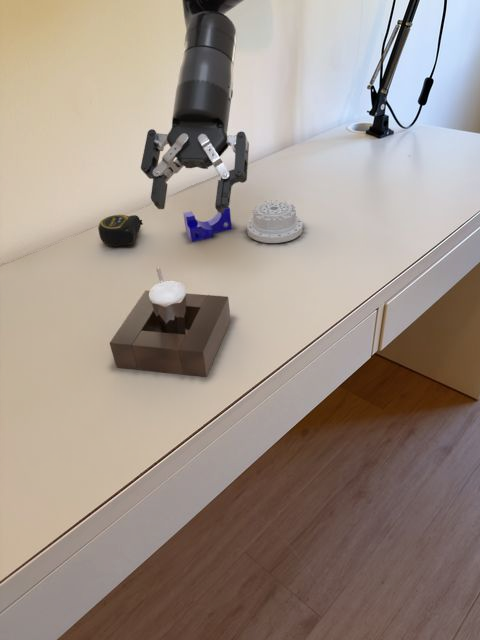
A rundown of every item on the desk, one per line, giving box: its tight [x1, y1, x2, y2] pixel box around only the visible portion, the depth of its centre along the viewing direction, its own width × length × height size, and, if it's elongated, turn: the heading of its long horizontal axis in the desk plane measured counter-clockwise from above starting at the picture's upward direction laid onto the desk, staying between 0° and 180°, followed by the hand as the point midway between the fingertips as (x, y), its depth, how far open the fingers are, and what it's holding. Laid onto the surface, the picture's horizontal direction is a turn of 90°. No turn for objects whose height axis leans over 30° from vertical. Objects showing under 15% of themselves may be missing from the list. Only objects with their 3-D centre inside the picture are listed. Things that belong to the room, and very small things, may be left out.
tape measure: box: [97, 214, 144, 247], centre depth 93 cm, size 7×7×4 cm
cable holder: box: [183, 206, 233, 243], centre depth 94 cm, size 8×4×4 cm, turn 112°
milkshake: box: [149, 267, 189, 335], centre depth 67 cm, size 5×5×10 cm
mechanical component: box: [246, 199, 304, 244], centre depth 93 cm, size 10×4×10 cm
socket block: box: [109, 289, 232, 378], centre depth 69 cm, size 12×12×4 cm
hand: (189, 208), depth 70 cm, fingers open, 8 cm apart
